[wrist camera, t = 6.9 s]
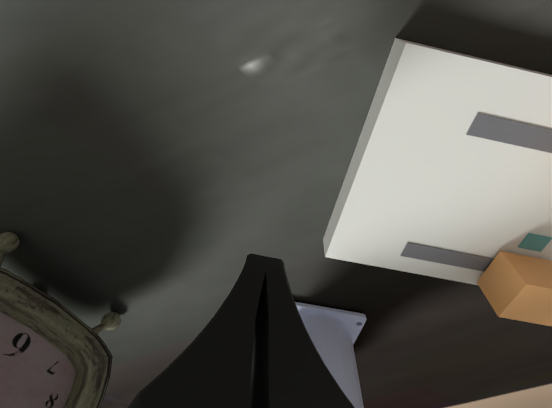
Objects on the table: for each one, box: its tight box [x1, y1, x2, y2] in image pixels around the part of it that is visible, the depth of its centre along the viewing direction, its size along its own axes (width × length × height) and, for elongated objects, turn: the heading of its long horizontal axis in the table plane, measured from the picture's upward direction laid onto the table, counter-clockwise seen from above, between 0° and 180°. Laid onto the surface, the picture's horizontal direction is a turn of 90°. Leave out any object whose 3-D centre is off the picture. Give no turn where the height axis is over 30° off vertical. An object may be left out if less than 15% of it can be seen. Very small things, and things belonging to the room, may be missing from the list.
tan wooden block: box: [477, 251, 552, 326], centre depth 22 cm, size 3×4×3 cm
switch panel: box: [323, 38, 552, 285], centre depth 21 cm, size 14×20×2 cm
